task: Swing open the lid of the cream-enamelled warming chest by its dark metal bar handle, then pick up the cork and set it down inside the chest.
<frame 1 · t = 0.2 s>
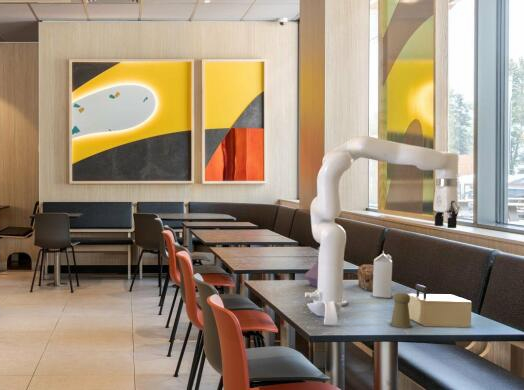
hand: (445, 226, 246), 31 cm above the table, tool pointing down, fingers open, 9 cm apart
cork: (400, 326, 211), on the table
milk carton: (381, 296, 264), on the table
flask: (321, 286, 287), on the table
bread: (372, 288, 283), on the table
spoon rest: (326, 319, 219), on the table
chest: (438, 322, 217), on the table
lid: (438, 292, 217), point 10 cm above the table, hinge at 0.0°
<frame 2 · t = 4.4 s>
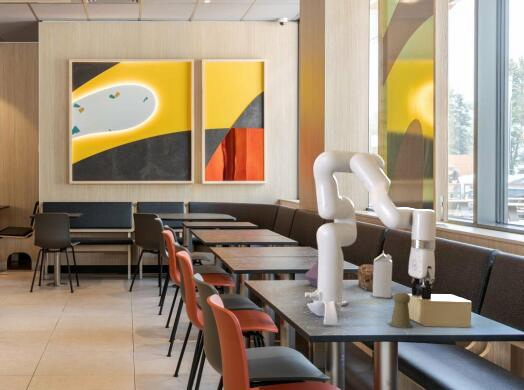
hand: (421, 296, 217), 9 cm above the table, tool pointing down, fingers closed on lid, 6 cm apart
lid: (438, 292, 217), point 10 cm above the table, hinge at 0.0°, touching gripper
everything else where it was.
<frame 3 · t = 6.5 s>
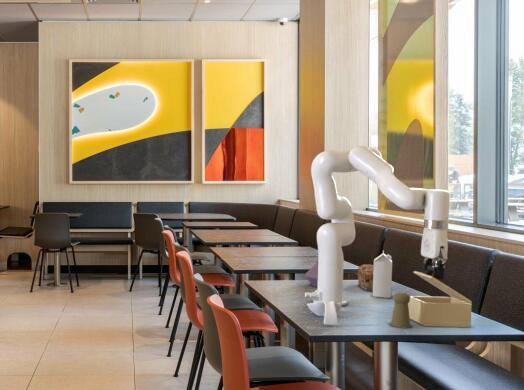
hand: (433, 276, 217), 16 cm above the table, tool pointing down, fingers closed on lid, 6 cm apart
lid: (445, 281, 217), point 14 cm above the table, hinge at 30.6°, touching gripper
everything else where it was.
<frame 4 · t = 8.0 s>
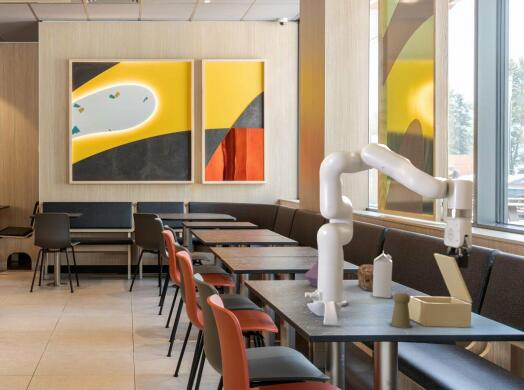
hand: (457, 265, 217), 20 cm above the table, tool pointing down, fingers closed on lid, 6 cm apart
lid: (457, 275, 217), point 17 cm above the table, hinge at 65.3°, touching gripper
everything else where it was.
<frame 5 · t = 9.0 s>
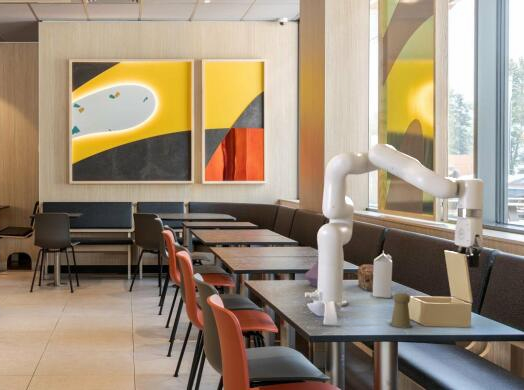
hand: (468, 265, 217), 20 cm above the table, tool pointing down, fingers closed on lid, 6 cm apart
lid: (463, 274, 217), point 17 cm above the table, hinge at 79.5°, touching gripper
everything else where it was.
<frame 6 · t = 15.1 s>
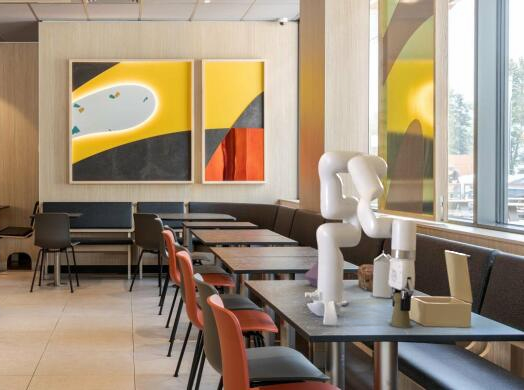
hand: (401, 308, 211), 6 cm above the table, tool pointing down, fingers closed on cork, 5 cm apart
cork: (400, 326, 211), on the table, touching gripper
lid: (463, 274, 217), point 17 cm above the table, hinge at 79.8°
everything else where it was.
when the fingers open (7 cm above the table, at t = 21.9 s): cork stays where it is, resting on chest.
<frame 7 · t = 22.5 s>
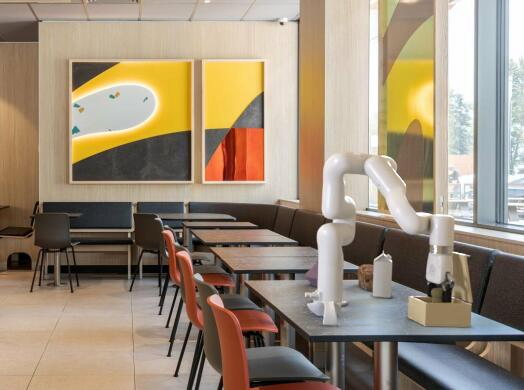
hand: (439, 299, 217), 8 cm above the table, tool pointing down, fingers open, 9 cm apart
cork: (438, 320, 217), point 1 cm above the table, touching chest
everything else where it was.
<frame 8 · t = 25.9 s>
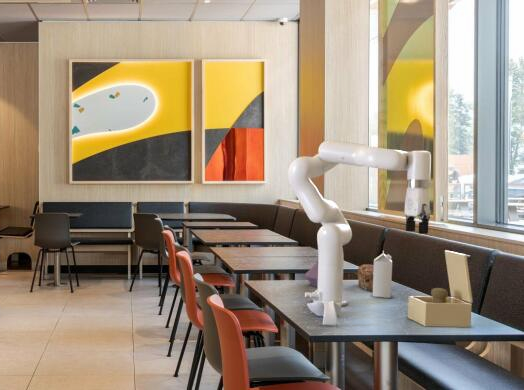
hand: (416, 232, 226), 30 cm above the table, tool pointing down, fingers open, 9 cm apart
nothing on the table moved.
at the end: lid at +80° (first picture: +0°); cork inside the target area in the chest (0.1 cm from its centre), point 0.6 cm above the chest's base; cork tilted 0° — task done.
